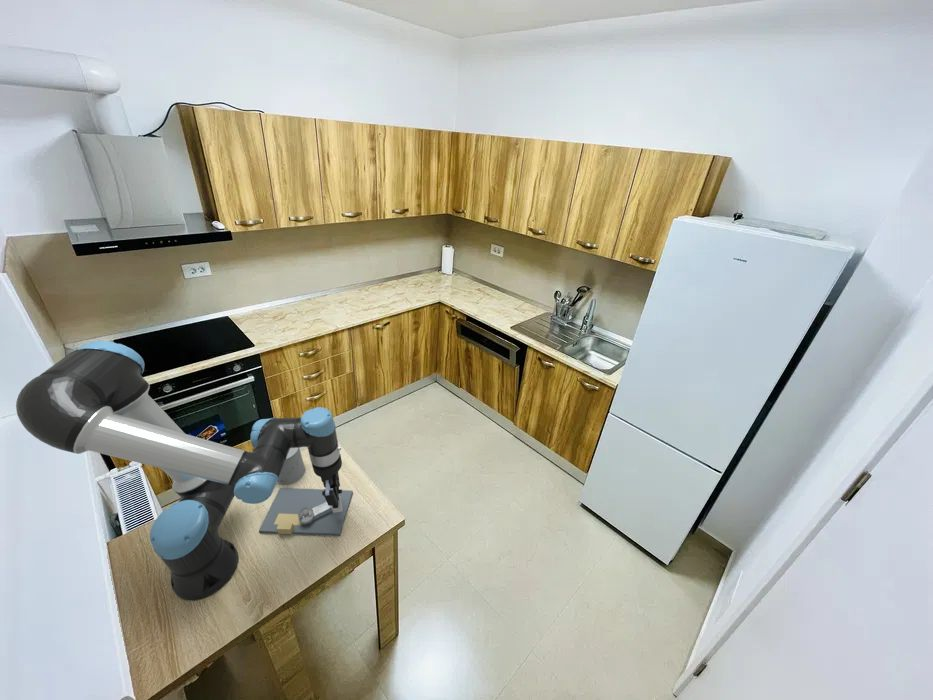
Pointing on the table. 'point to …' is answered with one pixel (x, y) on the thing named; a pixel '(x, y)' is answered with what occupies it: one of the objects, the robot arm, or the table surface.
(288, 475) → the grey cylinder
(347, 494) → the plate
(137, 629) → the table surface
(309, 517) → the bar
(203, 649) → the table surface
